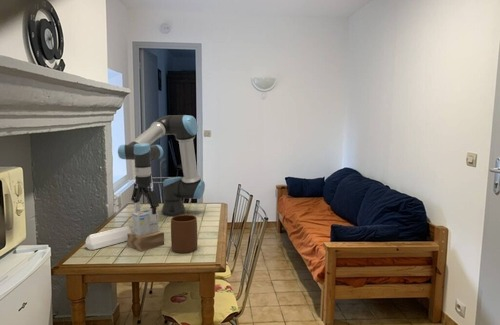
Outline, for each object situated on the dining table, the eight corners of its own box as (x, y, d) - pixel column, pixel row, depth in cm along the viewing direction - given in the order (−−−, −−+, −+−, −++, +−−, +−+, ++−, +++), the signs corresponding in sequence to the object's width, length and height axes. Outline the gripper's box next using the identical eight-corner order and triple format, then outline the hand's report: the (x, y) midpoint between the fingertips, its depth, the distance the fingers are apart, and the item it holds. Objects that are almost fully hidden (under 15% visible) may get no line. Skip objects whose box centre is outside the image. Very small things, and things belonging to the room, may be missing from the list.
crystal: (126, 228, 204) (80, 239, 187) (131, 224, 199) (86, 235, 182) (130, 241, 202) (85, 254, 185) (136, 237, 197) (90, 250, 180)
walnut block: (127, 245, 188) (127, 233, 188) (150, 239, 198) (149, 227, 197) (141, 251, 181) (140, 238, 180) (164, 244, 190) (163, 232, 189)
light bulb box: (151, 229, 195) (151, 208, 193) (159, 231, 190) (158, 210, 189) (132, 233, 187) (131, 212, 186) (139, 237, 182) (138, 215, 181)
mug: (175, 239, 197) (174, 210, 195) (199, 239, 198) (199, 210, 196) (169, 254, 178) (168, 222, 175) (196, 253, 178) (195, 221, 176)
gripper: (122, 173, 190) (125, 214, 193) (151, 179, 174) (153, 224, 177) (135, 171, 196) (138, 211, 199) (165, 177, 179) (167, 221, 182)
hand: (145, 217), depth 188 cm, fingers open, 13 cm apart
